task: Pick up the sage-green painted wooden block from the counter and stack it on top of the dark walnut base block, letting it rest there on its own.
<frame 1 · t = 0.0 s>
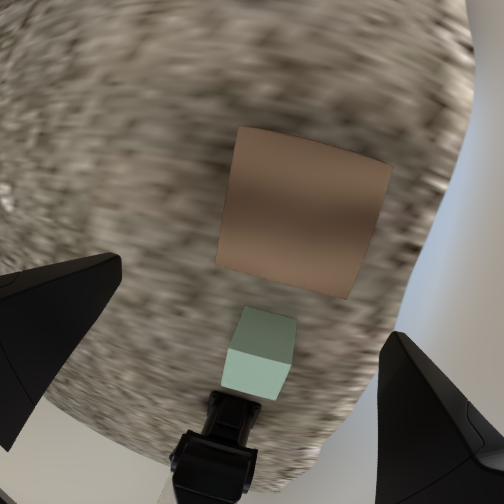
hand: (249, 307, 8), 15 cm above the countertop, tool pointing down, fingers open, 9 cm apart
fire extinguisher: (198, 454, 43), on the countertop
walnut base: (301, 203, 22), on the countertop
sage block: (265, 332, 27), on the countertop
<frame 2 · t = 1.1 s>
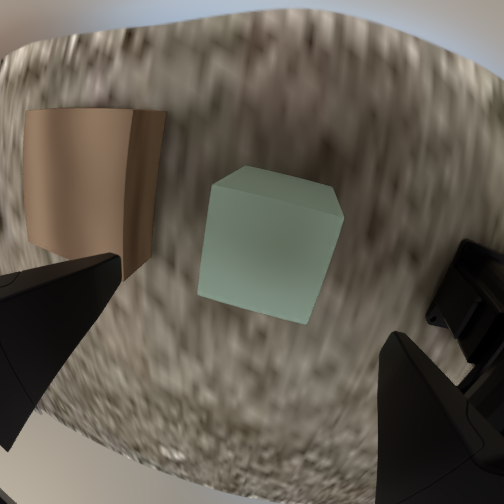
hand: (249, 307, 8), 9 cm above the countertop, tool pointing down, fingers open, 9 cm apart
walnut base: (101, 175, 18), on the countertop
sage block: (279, 216, 17), on the countertop
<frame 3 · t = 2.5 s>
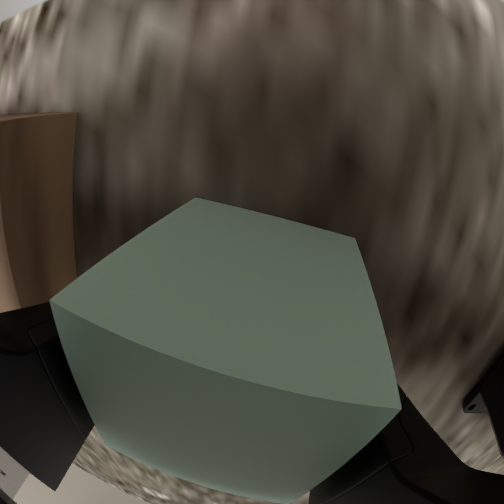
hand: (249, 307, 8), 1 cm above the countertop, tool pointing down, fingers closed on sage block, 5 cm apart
walnut base: (19, 207, 11), on the countertop
sage block: (257, 286, 10), on the countertop, touching gripper
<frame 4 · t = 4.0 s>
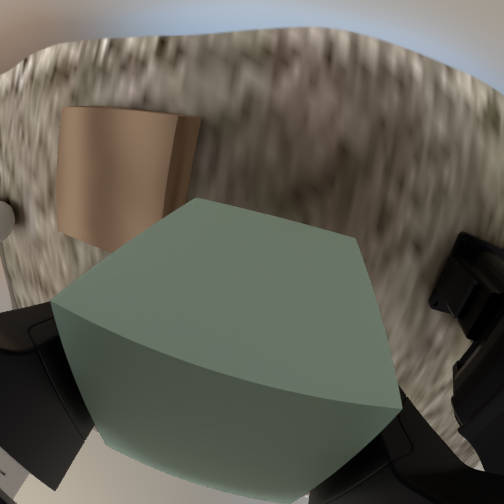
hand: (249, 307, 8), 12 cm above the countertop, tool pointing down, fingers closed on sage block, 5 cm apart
walnut base: (134, 172, 20), on the countertop
sage block: (258, 286, 10), point 10 cm above the countertop, touching gripper
donut: (10, 210, 25), on the countertop
when the fingers open (7 cm above the countertop, at t = 6.0 s): sage block drops 2 cm, point 4 cm above the countertop.
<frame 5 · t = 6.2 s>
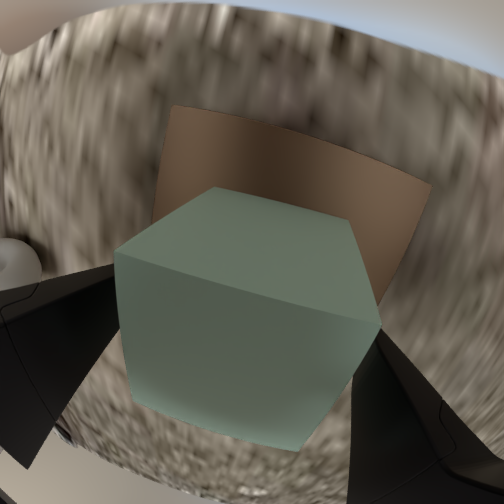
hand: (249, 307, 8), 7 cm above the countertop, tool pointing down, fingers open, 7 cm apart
walnut base: (277, 229, 15), on the countertop
sage block: (266, 263, 11), point 4 cm above the countertop
donut: (31, 251, 20), on the countertop
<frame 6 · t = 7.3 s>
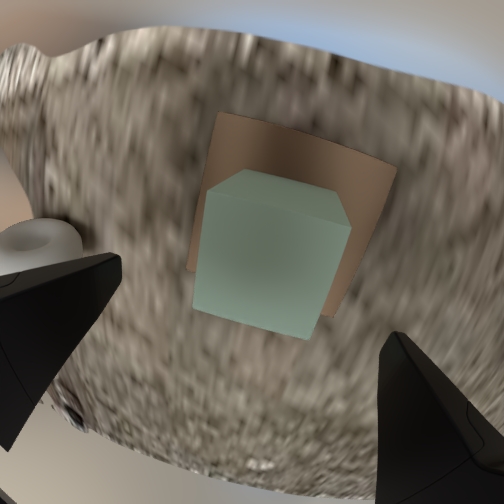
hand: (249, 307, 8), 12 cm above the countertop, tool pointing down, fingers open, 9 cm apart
walnut base: (288, 204, 19), on the countertop
sage block: (280, 222, 16), point 4 cm above the countertop
donut: (69, 231, 24), on the countertop
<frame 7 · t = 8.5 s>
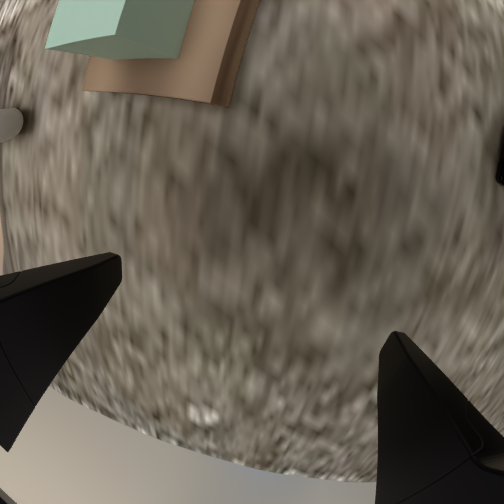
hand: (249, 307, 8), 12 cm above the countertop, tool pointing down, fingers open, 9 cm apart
walnut base: (182, 36, 16), on the countertop, touching sage block
sage block: (152, 23, 12), point 4 cm above the countertop, touching walnut base
donut: (18, 122, 21), on the countertop
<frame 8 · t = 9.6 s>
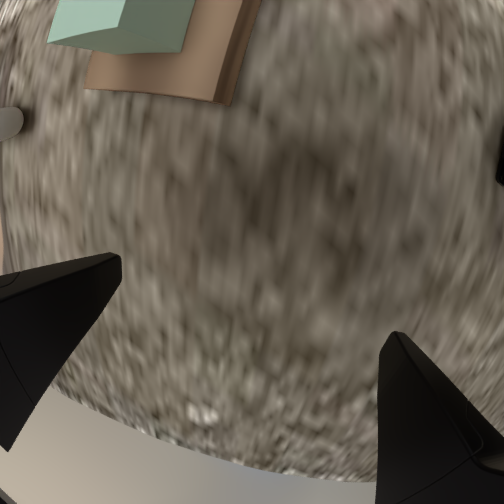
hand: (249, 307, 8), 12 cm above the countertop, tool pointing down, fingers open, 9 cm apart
walnut base: (184, 35, 16), on the countertop
sage block: (154, 18, 12), point 4 cm above the countertop
donut: (18, 120, 21), on the countertop
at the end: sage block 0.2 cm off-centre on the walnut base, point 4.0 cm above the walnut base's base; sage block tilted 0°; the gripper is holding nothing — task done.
